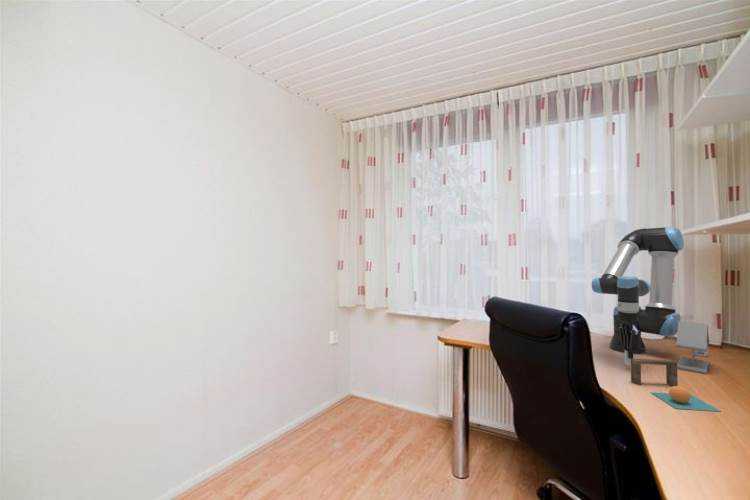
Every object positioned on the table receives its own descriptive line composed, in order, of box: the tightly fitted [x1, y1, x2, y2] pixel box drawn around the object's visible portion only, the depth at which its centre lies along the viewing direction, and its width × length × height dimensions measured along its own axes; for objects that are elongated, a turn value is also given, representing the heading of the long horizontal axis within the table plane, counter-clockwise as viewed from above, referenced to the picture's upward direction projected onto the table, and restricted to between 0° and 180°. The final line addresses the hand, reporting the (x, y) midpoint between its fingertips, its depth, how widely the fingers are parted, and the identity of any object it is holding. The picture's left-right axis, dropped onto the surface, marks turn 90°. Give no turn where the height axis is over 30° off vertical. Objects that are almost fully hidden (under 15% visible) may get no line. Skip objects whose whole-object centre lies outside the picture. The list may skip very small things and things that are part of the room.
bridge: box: [630, 358, 679, 387], centre depth 133 cm, size 3×14×9 cm, turn 80°
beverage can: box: [695, 344, 709, 357], centre depth 169 cm, size 6×6×15 cm
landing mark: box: [650, 391, 722, 413], centre depth 117 cm, size 13×13×1 cm
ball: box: [668, 385, 691, 403], centre depth 116 cm, size 6×6×6 cm
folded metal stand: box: [675, 320, 711, 375], centre depth 152 cm, size 18×10×20 cm, turn 133°
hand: (629, 364), depth 149 cm, fingers closed
